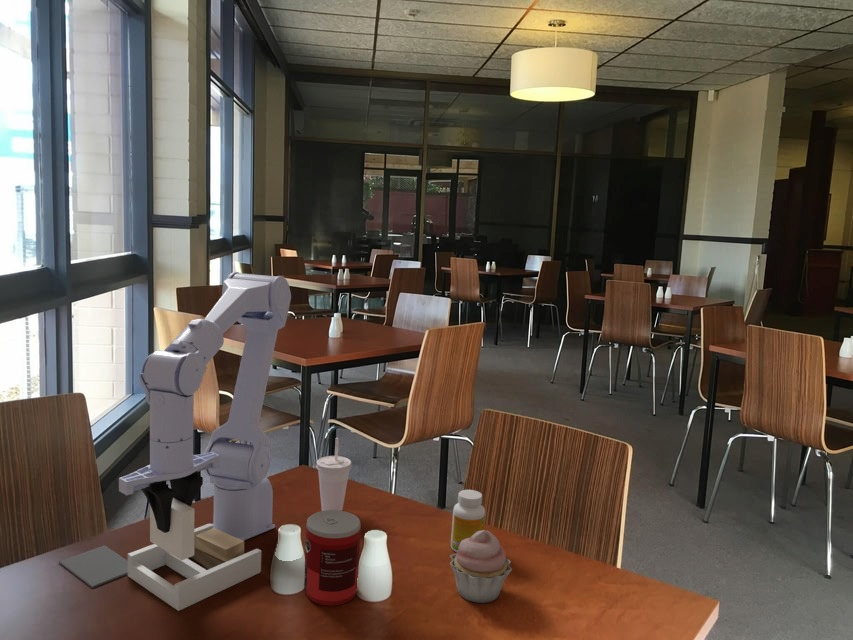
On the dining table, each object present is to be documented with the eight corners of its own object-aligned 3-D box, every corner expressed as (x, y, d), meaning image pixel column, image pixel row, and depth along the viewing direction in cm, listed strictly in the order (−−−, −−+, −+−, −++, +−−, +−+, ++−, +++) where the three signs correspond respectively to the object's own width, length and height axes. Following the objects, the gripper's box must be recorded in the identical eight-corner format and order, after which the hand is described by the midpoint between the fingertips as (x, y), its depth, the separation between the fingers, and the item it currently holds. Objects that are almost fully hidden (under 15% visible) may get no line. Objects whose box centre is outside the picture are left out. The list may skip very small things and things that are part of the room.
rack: (209, 543, 111) (209, 523, 111) (260, 572, 104) (261, 550, 103) (127, 576, 100) (127, 553, 100) (178, 611, 93) (178, 587, 92)
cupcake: (455, 612, 96) (460, 546, 95) (441, 577, 106) (445, 516, 104) (518, 608, 98) (524, 543, 97) (499, 574, 107) (504, 514, 106)
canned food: (326, 572, 105) (328, 504, 103) (368, 589, 101) (371, 519, 99) (292, 594, 98) (294, 522, 97) (335, 613, 94) (339, 539, 93)
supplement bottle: (485, 556, 113) (490, 500, 111) (453, 556, 112) (457, 501, 111) (478, 540, 118) (482, 487, 117) (447, 541, 117) (451, 487, 116)
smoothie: (356, 510, 127) (359, 438, 125) (334, 522, 122) (337, 447, 119) (329, 501, 130) (332, 431, 128) (307, 512, 125) (309, 439, 123)
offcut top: (213, 539, 108) (213, 527, 108) (244, 553, 105) (244, 541, 104) (195, 547, 106) (195, 535, 105) (225, 562, 102) (226, 549, 101)
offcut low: (211, 552, 109) (211, 538, 109) (245, 573, 104) (245, 558, 103) (191, 560, 107) (191, 545, 106) (225, 582, 101) (225, 566, 101)
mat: (104, 546, 108) (104, 545, 108) (138, 569, 102) (138, 567, 102) (59, 563, 103) (59, 561, 103) (92, 588, 97) (92, 586, 97)
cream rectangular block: (162, 536, 101) (162, 492, 100) (194, 555, 96) (194, 508, 95) (150, 541, 100) (149, 496, 99) (181, 560, 95) (181, 513, 94)
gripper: (200, 418, 104) (199, 503, 106) (106, 440, 92) (107, 534, 94) (228, 430, 99) (227, 517, 101) (134, 454, 88) (135, 552, 90)
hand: (171, 527), depth 98 cm, fingers closed on cream rectangular block, 2 cm apart
